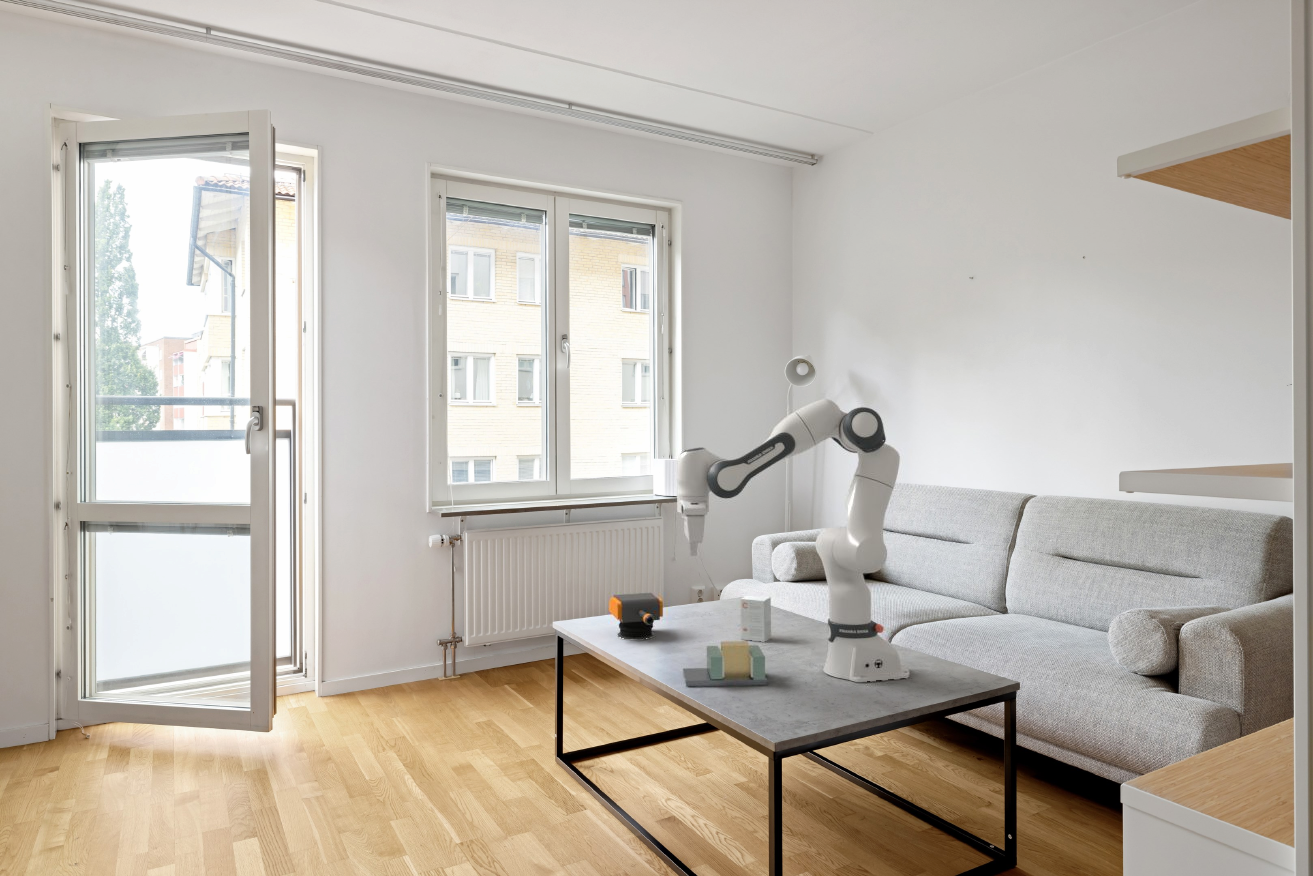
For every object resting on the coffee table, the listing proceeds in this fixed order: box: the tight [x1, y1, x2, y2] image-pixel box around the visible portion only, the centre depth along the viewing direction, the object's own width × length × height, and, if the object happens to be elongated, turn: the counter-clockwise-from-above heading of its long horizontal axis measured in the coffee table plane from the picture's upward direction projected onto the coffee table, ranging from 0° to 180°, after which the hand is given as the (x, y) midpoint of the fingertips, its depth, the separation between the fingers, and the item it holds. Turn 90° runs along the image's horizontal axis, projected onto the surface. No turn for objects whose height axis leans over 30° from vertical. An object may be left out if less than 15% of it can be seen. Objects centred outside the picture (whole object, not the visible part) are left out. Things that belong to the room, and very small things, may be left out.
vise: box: [682, 644, 768, 687], centre depth 220 cm, size 21×11×8 cm, turn 92°
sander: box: [608, 592, 664, 640], centre depth 263 cm, size 15×25×13 cm, turn 16°
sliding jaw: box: [706, 645, 724, 679], centre depth 220 cm, size 4×11×6 cm, turn 2°
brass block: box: [720, 640, 750, 676], centre depth 220 cm, size 4×7×8 cm, turn 92°
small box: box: [740, 594, 772, 643], centre depth 262 cm, size 8×6×13 cm
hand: (693, 555), depth 232 cm, fingers closed
